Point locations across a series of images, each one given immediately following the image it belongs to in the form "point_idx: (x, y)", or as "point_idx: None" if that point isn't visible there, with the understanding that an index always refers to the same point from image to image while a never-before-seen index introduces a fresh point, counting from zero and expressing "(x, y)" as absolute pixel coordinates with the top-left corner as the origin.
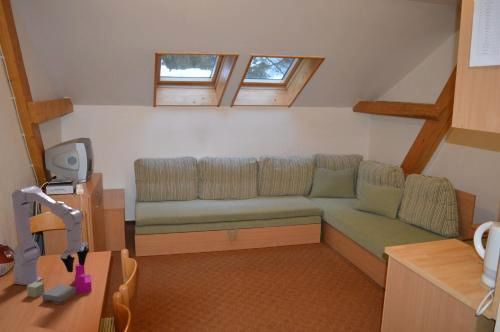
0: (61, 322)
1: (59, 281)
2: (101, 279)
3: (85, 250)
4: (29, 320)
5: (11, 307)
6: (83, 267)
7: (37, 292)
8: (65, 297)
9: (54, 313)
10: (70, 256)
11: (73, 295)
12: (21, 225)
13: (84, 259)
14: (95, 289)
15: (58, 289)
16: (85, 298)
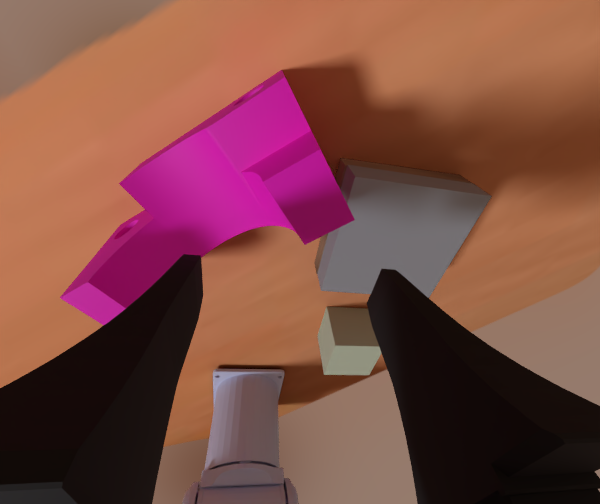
0: None
1: (212, 311)
2: (71, 94)
3: (74, 490)
4: (577, 229)
5: None
6: (107, 270)
7: (369, 323)
8: (440, 181)
9: (554, 157)
10: (514, 494)
11: (367, 163)
12: None
13: (170, 299)
14: (248, 49)
15: (384, 258)
16: (398, 56)
